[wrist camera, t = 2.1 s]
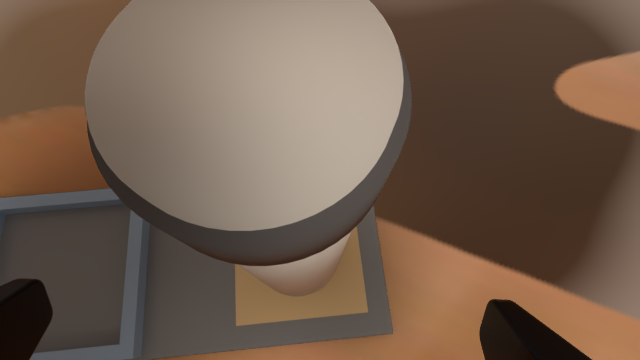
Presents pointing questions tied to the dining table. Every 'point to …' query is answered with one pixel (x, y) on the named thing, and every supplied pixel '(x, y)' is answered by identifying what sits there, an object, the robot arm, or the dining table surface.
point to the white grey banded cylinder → (250, 126)
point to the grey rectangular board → (170, 285)
